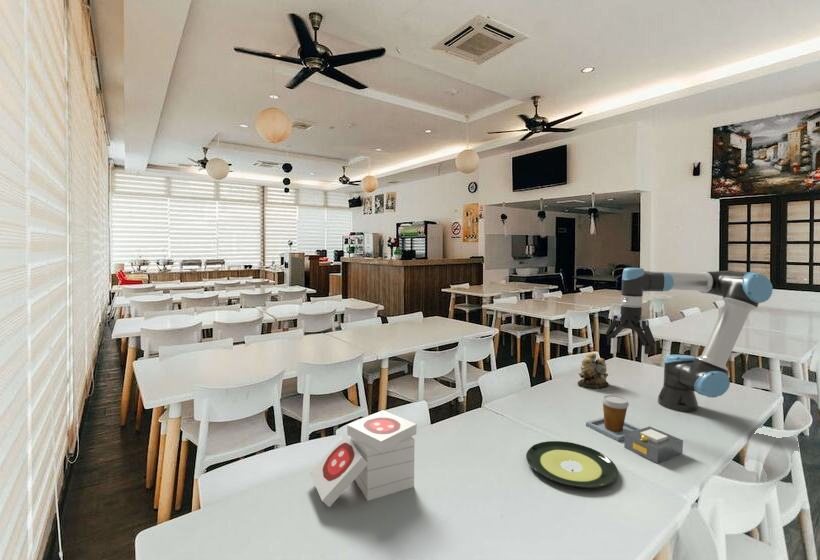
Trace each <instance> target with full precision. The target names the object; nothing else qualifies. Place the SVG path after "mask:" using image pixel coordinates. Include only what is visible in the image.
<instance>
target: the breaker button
mask: <svg viewBox="0 0 820 560" xmlns="http://www.w3.org/2000/svg"><path fill="white" fill-rule="evenodd" d="M642 435H645V436H647V437H648V439H649V440H651V441H653V442H655V443H659V442H662V441H665V440H667V439H668V436H666V435H664V434H661V433H659V432H657V431H654V430H652V429H650V430H646V431H643V432H640V436H642Z"/></svg>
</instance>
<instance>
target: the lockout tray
mask: <svg viewBox="0 0 820 560" xmlns="http://www.w3.org/2000/svg"><path fill="white" fill-rule="evenodd" d="M585 426H586V427H588V428H589V427H590V429H592V430H594V431H596V432H598V433H599V434H602V435H603V436H606V437H608V438H610V439H612V440H613V441H616V442H620V441H625V434H626V433H630V432H633V431H636V430H640V429H641V428H640V427H638V426H635V425H633V424H630V423H628V422H626V421H624V426H623V430H622V431H621V432H613V431H610V430H608V429H606V428H605V423H604V416H603V417H600V418H597V419H592V420H588V421H585Z"/></svg>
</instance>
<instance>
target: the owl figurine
mask: <svg viewBox="0 0 820 560" xmlns="http://www.w3.org/2000/svg"><path fill="white" fill-rule="evenodd" d="M584 357H585V358H582V360H581V365H580V369H581V372H578V375H579V376H580V378H581V379H579V380H578V381H577V385H578V386H579V387H582V388H584V389H588V390H596V389H597V390H602V388H603V389H606V388H607V387H609V385H610V384H609V382H608V381H607V378H608V376H609V374H608V373H607V364H606V360H605V358H602V357H599V358H597V354H596V353H594V352H588V353H587V354H586V355H585V356H584Z"/></svg>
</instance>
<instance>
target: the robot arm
mask: <svg viewBox="0 0 820 560" xmlns="http://www.w3.org/2000/svg"><path fill="white" fill-rule="evenodd" d="M621 277H622V278H621V298H620V304H621V306H620V314H615V315H613V316H612V317H613V318H612V321H611V322H610V325H609V327H608V328H607V330H606V331H605V335H606V336H608V337H609V345H610V354H617V350H618V335H619V334H620V333H621V332H622V330H624V329H630V330H633V331H634V332H635V333H636V334H637V336H638V338H639V339H640V340H641V342H642V346H641V355H640V356H641V357H640V361H641V363H646V362H648V358H649V356H648V355H649V354H650V352H651V346H655V345H656V344H657V343H656V341H655V337H654V336H653V333H652V330H651V327H650V322H649V320H647V319H643V320H642V312H643V311H642V310H643V308H642V306H643V295H644V292H669V291H671V290H675V291H676V290H678V291H679V290H680V291H697V292H699V293H701V294H710V295H715V296H719V297H722V299H721V300H723V303H724V304H723V306H722V308H721V309H722V310H721V311H720V314H719V316H718V318H717V320H716V323H715V324H714V327H713V329H712V331H711V333H710V336H709V338H708V340H707V343H706V344H705V346H704V348H703V351H702V353H701V355H699V356H696V357H695V356H693V355H686V354H668V355H666V356H665V359H664V364H663V365H664V369H663V386H662V388H661V391H660V392H659V394H658V397H657V402H658V404H659V405H661V406H663V407H664V408H667V409H670V410H674V411H680V412H688V413H690V412H697V410H698V407H699V403H698V401H697V400H698V399H697V397H696V393H697V394H698V395H701V396H705V397H707V398H711V399H713V398H718V397H720V396H723V395H724V394H725V393H727V392H728V390H729V388H730V385H731V381H730V377H729V376H728V374H727V373H728V371H729V369H728V367H727V363H728V360H729V358H730V356H731V354H732V352H733V350H734V347H735V345H736V343H737V341H738V338H739V337H740V334H741V332H742V330H743V328H744V325H745V324H746V322H747V319H748V317H749V314H750V312H752V311H753V310H754V311H755V310H757V308H758V306H759V305H760V304H761V303H765V302H766V301H768V300H770V299H771V297H772V294H773V291H774V290H773V284H772V283H771V280H770V279H769V277H768V276H767V275H764V274H763V273H756V272H755V271H754V272H753V271H738V270H736V271H735V270H720V271H719V270H718V271H717V270H716V271H701V272H699V273H696V272H695V273H694V272H672V271H650V270H649V271H647V270H645V269H644V268H642V267H625V268H624V269H623V271H622V276H621ZM619 322H620V324H619ZM695 392H696V393H695Z"/></svg>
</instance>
